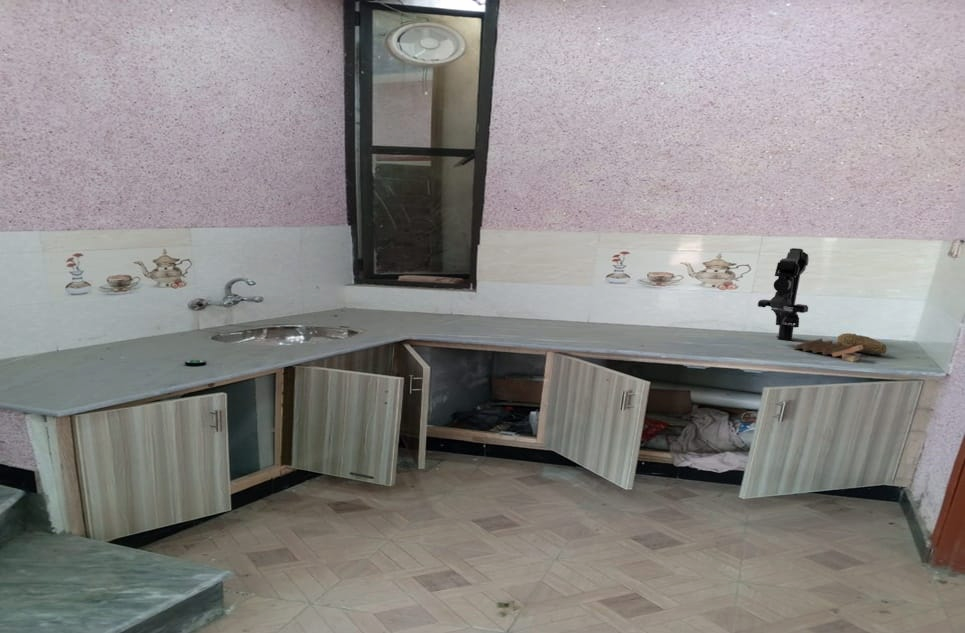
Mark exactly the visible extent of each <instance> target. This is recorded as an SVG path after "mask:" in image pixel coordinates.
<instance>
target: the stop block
mask: <svg viewBox="0 0 965 633" xmlns="http://www.w3.org/2000/svg"><path fill="white" fill-rule="evenodd" d="M860 357H861V353H857V352H851V353H847V354H843V355H841V361H845V362H852V363H854V362H856V361H858V360H860V359H861V358H860Z"/></svg>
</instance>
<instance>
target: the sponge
mask: <svg viewBox="0 0 965 633" xmlns="http://www.w3.org/2000/svg"><path fill="white" fill-rule="evenodd" d="M837 336H838V337H837V343H839V342H842V344H843V345H847V344H851V343H852V345H853V347H855V346H859V345H862V346H863V348H864V349H862V350H859V351H856V353H857V352H858V353H860V354H866V355H884V354H885V353H887V345H886V344H885V343H883V342H881V341H879V340H876V339H875V338H871V337H869V336H865V335H861V334H859V335H858V334H856V333H849V332H847V333H842V334H840V335H837Z"/></svg>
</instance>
